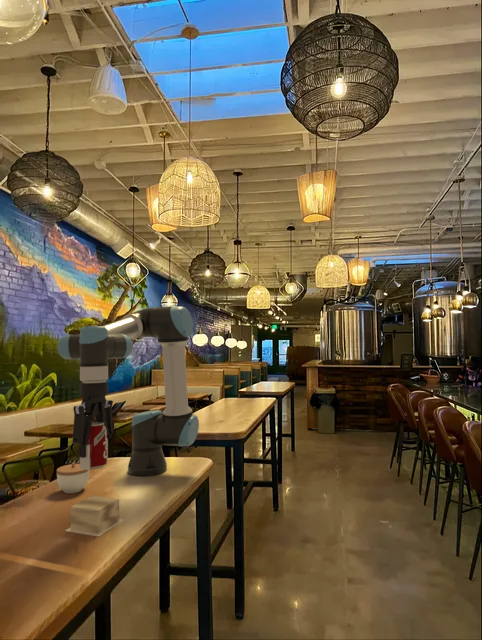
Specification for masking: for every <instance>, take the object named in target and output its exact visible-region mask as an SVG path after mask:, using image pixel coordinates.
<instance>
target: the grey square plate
mask: <svg viewBox="0 0 482 640" xmlns="http://www.w3.org/2000/svg"><path fill="white" fill-rule="evenodd" d="M123 521H125V519H121V518H119V521H118V522H117V523H115V524H113V525H112V526H110V527H109V528H107V529H105V530H104V531H102V532H101V533H99V534H94V533H88V532H82V531H76V530H70V527H69V528H67V529H65V530H64V531H65V532H70V533H76V534H80V535H81V534H82V535H87V536H93V537H100V536H102V535H103V534H105V533H107V532H108V531H110V530H111V529H113V528H115V527H116V526H118V525H119V524H120V523H122V522H123Z"/></svg>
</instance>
